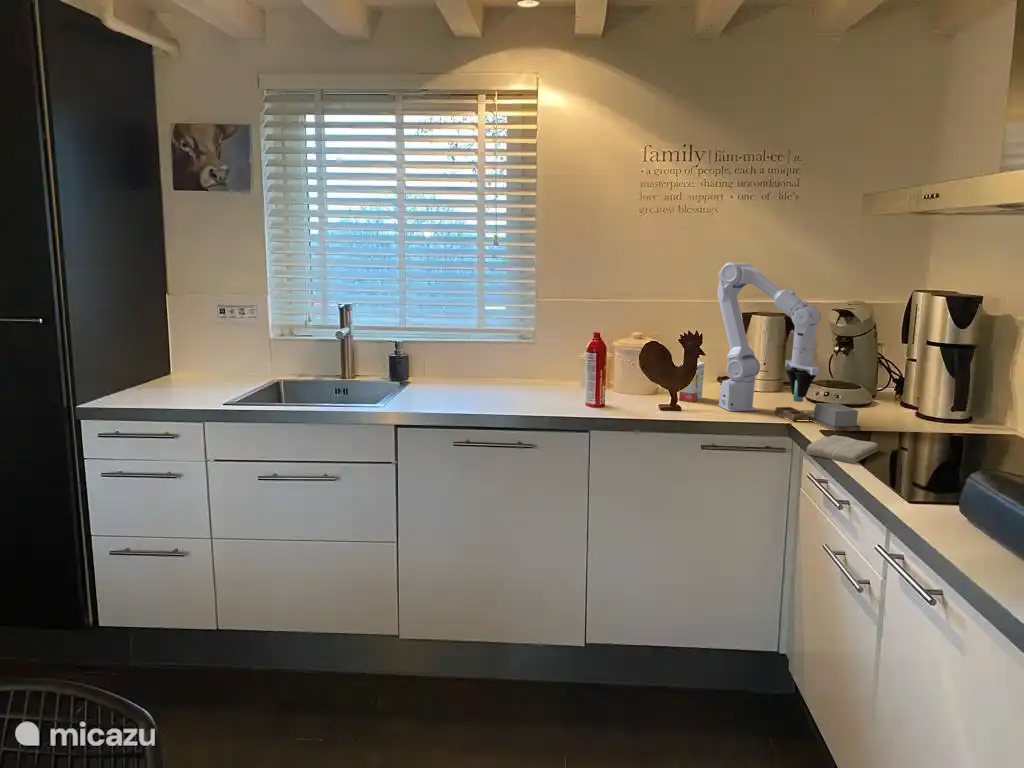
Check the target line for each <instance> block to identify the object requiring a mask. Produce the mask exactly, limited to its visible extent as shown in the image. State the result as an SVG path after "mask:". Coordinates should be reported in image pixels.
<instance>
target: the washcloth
mask: <svg viewBox="0 0 1024 768" xmlns="http://www.w3.org/2000/svg"><path fill="white" fill-rule="evenodd" d="M878 446H879V445H878V443H876V442H875V441H874V442H873V441H867V440H866V441H865V440H858V439H855V438H851V437H849V436H843V435H842V436H841V435H836V434H834V435H830V436H825V435H824V436H823V437H822V438H819V439H817V440H815V441H814V442H812V443H809V444H808V445H807V447H806V450H805V451H806V454H807V455H810V456H815V457H819V458H824V459H829V460H834V461H839V462H843V463H847V464H856V463H858V462H860V461H861V460H863V459H864V460H865V458H866V457H869V456H870V455H872V454H875V453H876V452H878V449H877V448H878Z"/></svg>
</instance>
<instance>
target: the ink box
mask: <svg viewBox="0 0 1024 768" xmlns="http://www.w3.org/2000/svg"><path fill="white" fill-rule="evenodd" d="M697 362H698V363H697V370H696V374H695V376H694V378H693V380H692V381H691V383H690V384H689V385H688V386H687V387H685V388H684V389H682V390H680V389H679V395H678V396H679V397H678V401H682V402H683V401H684V402H690V403H694V402H696V401H697V402H698V401H699V400H701V399H702V398H703V385H704V376H705V375H704V374H705V366H706V365H705V364H706V363H705V362H703V361H697ZM683 363H684V362H682V363H681V366H682V365H683Z"/></svg>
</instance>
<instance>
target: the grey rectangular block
mask: <svg viewBox="0 0 1024 768" xmlns="http://www.w3.org/2000/svg"><path fill="white" fill-rule="evenodd" d="M814 408H815V414H814V418H816V419H818V420H821V421H823V422H826V423H828V424H830V425H833V426H835V427H851V426H857V425H858V416H859V410H856V409H854V408H852V407H848V406H846V405H843V404H841V403H838V402H828V403H826V402H821V403H820V402H819V403H818V402H816V403H815V406H814Z"/></svg>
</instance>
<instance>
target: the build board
mask: <svg viewBox="0 0 1024 768" xmlns="http://www.w3.org/2000/svg"><path fill="white" fill-rule="evenodd" d="M774 413H775V415H776V414H778V415H777V416H779V415H780V416H779V417H781V416H783V417H785V418H788V419H790V420H792V421H797V420H810V419H809V414H806V413H804V412H801V411H800V410H799V409H796V408H794V407H791V406H776V407H775V410H774ZM783 417H782V418H783ZM785 418H784V419H785ZM790 420H789V421H790ZM792 421H791V422H792Z"/></svg>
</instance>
